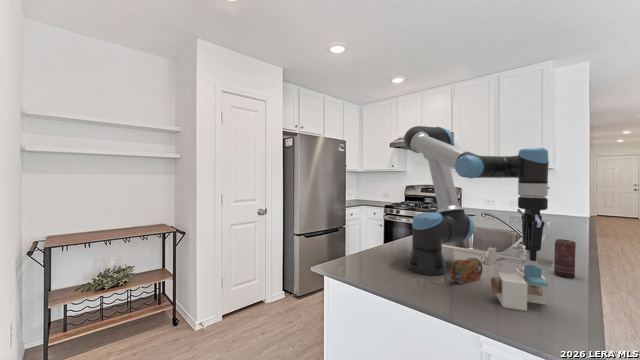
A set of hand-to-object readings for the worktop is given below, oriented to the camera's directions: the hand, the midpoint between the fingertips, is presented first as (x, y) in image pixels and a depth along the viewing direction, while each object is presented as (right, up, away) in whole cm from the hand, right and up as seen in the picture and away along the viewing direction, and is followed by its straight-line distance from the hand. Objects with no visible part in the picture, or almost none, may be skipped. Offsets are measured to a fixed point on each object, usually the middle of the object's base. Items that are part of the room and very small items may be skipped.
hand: (531, 269), depth 89 cm
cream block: (-8, -10, -3) cm, 13 cm away
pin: (-7, -7, -3) cm, 11 cm away
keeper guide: (0, -10, +1) cm, 10 cm away
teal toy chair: (-2, -3, -4) cm, 5 cm away
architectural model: (+9, -9, +36) cm, 38 cm away
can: (+29, -9, +21) cm, 37 cm away
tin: (-13, -9, +15) cm, 22 cm away
